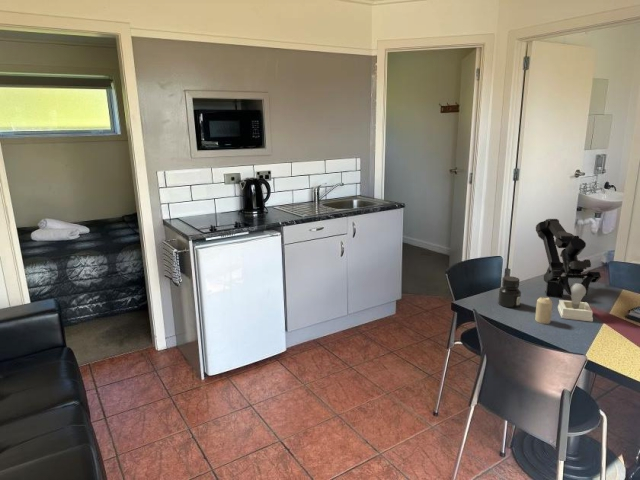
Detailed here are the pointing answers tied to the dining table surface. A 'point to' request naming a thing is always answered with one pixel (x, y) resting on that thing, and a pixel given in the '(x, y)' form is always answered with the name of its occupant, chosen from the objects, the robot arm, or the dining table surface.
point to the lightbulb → (577, 294)
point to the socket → (575, 311)
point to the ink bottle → (509, 292)
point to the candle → (543, 310)
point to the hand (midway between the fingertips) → (578, 295)
